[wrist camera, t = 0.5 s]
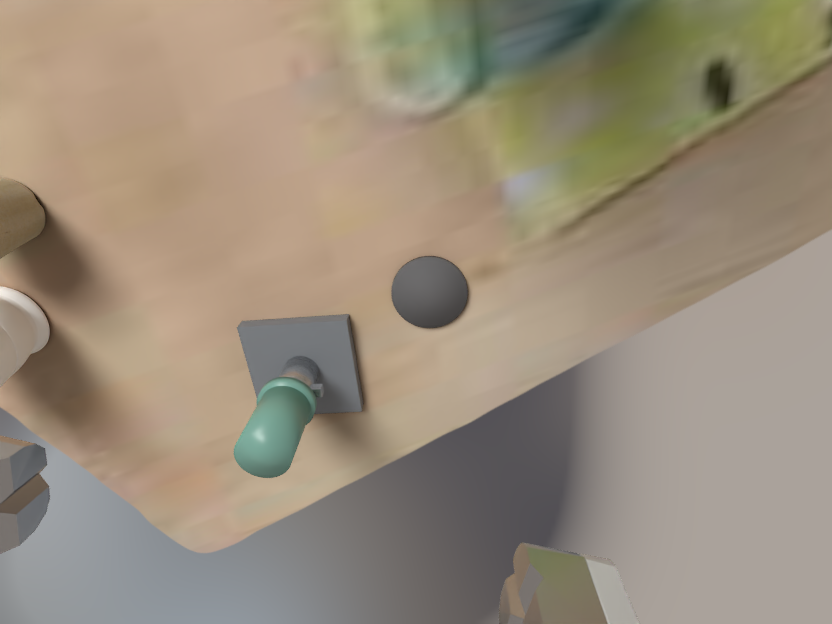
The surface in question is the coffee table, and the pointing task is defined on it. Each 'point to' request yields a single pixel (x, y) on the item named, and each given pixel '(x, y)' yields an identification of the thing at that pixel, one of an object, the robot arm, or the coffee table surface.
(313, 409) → the cap
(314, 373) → the grey rounded piece
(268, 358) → the post slab
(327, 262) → the coffee table surface
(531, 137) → the coffee table surface
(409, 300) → the pad
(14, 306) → the jar
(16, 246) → the flower pot
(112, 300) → the coffee table surface
